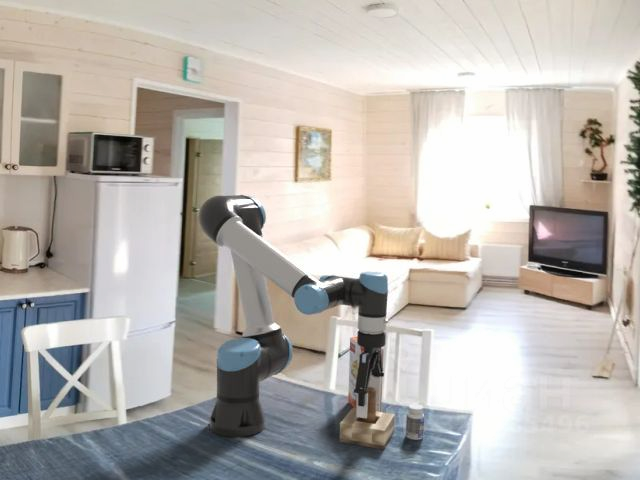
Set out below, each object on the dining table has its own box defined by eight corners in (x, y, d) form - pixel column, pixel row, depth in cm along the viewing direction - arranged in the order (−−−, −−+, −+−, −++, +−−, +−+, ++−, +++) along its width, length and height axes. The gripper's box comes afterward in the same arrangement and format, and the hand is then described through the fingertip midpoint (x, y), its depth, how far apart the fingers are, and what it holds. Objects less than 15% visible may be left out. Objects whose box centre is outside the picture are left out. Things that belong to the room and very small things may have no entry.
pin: (358, 434, 159) (359, 390, 158) (362, 428, 163) (363, 386, 162) (372, 436, 158) (374, 393, 157) (376, 431, 162) (378, 388, 160)
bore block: (339, 441, 157) (340, 423, 156) (352, 424, 168) (353, 407, 168) (383, 449, 153) (384, 430, 152) (394, 431, 164) (394, 414, 164)
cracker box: (346, 402, 185) (349, 336, 183) (364, 400, 187) (367, 335, 185) (362, 419, 172) (365, 349, 170) (381, 418, 173) (384, 348, 171)
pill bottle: (422, 441, 159) (424, 410, 158) (405, 439, 160) (406, 408, 159) (423, 433, 163) (425, 404, 163) (406, 431, 164) (407, 402, 163)
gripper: (373, 343, 145) (370, 427, 147) (395, 322, 168) (392, 395, 170) (344, 340, 147) (341, 422, 149) (370, 319, 171) (367, 391, 173)
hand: (368, 408), depth 160 cm, fingers open, 13 cm apart
